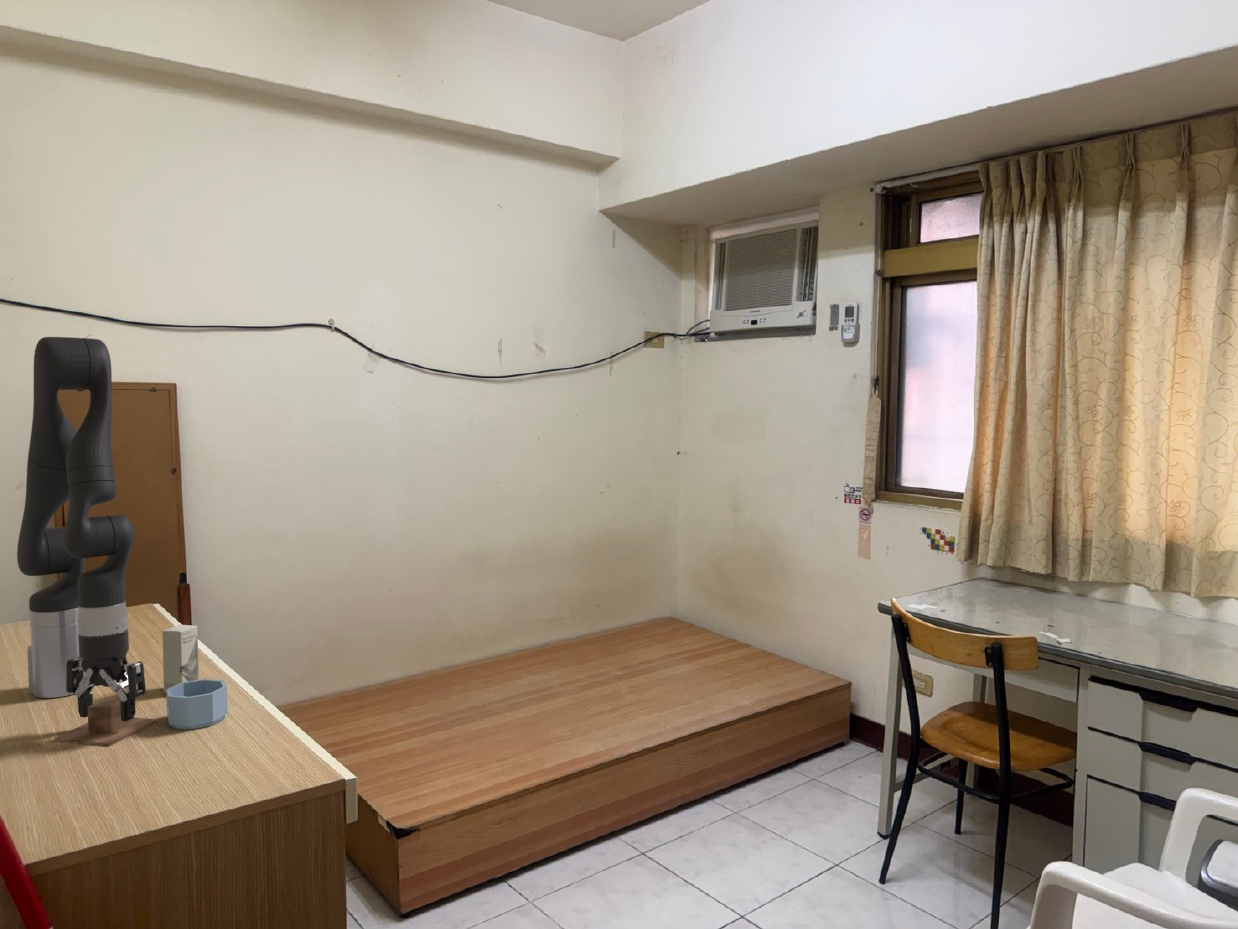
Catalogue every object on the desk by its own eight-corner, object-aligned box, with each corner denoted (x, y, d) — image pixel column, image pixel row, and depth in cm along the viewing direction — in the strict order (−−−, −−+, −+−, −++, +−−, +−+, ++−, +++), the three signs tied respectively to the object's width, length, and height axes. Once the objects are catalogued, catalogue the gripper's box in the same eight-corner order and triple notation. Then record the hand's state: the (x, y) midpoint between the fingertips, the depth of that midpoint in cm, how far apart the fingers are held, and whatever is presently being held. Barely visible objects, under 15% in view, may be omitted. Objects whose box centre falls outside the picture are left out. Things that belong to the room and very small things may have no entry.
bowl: (155, 727, 149) (154, 695, 149) (193, 708, 159) (192, 677, 158) (202, 732, 147) (201, 699, 147) (237, 712, 157) (236, 681, 156)
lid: (54, 743, 143) (53, 712, 143) (105, 719, 154) (104, 690, 154) (109, 749, 141) (108, 718, 141) (157, 724, 152) (156, 695, 151)
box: (182, 695, 165) (180, 632, 164) (163, 693, 166) (160, 630, 165) (200, 686, 171) (198, 625, 170) (181, 684, 171) (179, 623, 170)
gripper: (50, 631, 144) (55, 722, 145) (121, 636, 141) (125, 729, 142) (86, 620, 151) (90, 707, 152) (154, 625, 148) (157, 713, 149)
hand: (107, 718), depth 147 cm, fingers open, 8 cm apart
